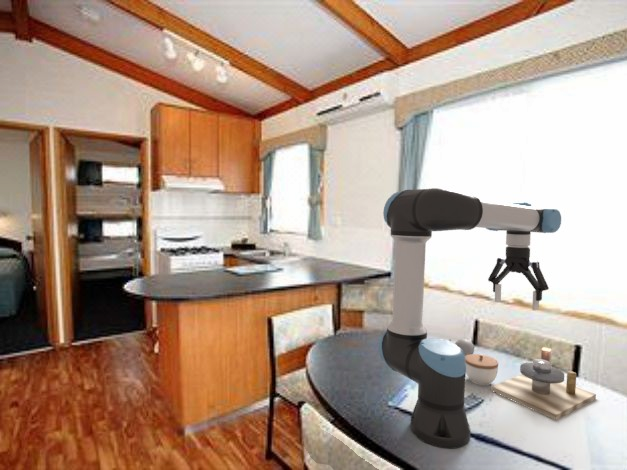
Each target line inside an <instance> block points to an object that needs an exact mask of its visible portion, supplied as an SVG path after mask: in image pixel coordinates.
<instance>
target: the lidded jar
mask: <svg viewBox="0 0 627 470" xmlns="http://www.w3.org/2000/svg"><path fill="white" fill-rule="evenodd" d="M465 363H466V375H467V378H469V380H470V382H471V383H473V384H475V385H477V386H481V387H482V386H484V387H485V386H489V385H490V384H492V383H493V382H494V381H495V379H496V378H497V375H498V369H499V361H498V360H497V359H496V358H494V357H491V356H488V355H486V354H485V355H484V354H479V353H477V354H476V353H473V354H469V355H466V356H465Z"/></svg>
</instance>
